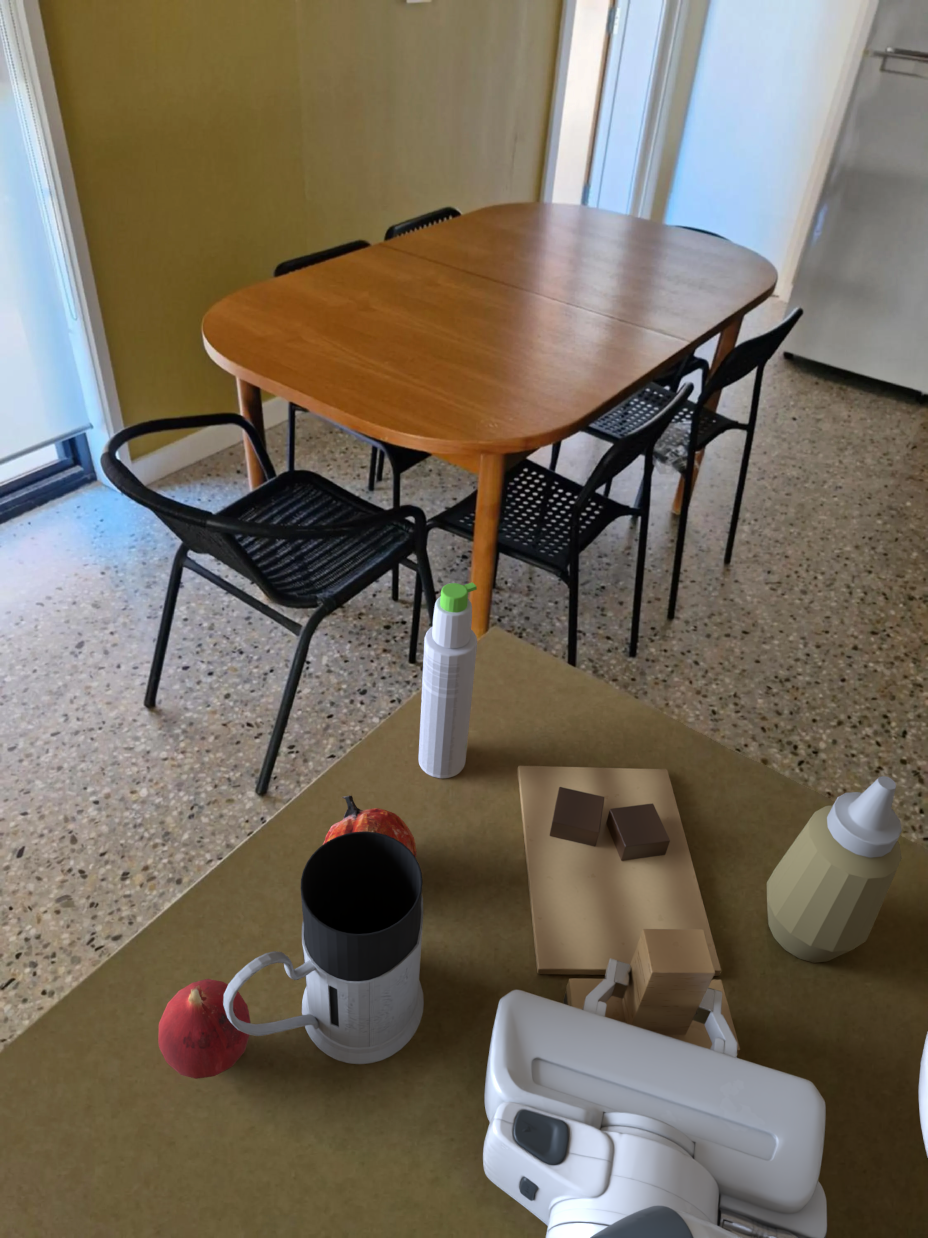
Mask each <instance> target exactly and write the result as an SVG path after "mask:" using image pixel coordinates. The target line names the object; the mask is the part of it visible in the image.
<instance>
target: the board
mask: <svg viewBox="0 0 928 1238" xmlns="http://www.w3.org/2000/svg"><path fill="white" fill-rule="evenodd" d="M517 780H518V791H519V800H520V811H521V820H522V821H521V822H522V832H523V839H524V840H523V841H524V852H525V861H526V872H527V883H528V893H529V904H530V913H531V922H532V923H531V924H532V933H533V944H534V945H533V946H534V953H535V954H534V955H535V964H536V965H535V967H536V973H537V975H582V976H583V975H588V976H589V975H590V976H591V975H594V976H595V975H597V976H599V975H600V976H601V975H602V976H605V973H606V969H607V966H608V963H609V959H610V958H611V959H614V960H617V961H621V962H624V963H627V964H631V961H632V959H633V956H634V953H635V950H636V947H637V945H638V942H639V939H640V936H641V933H642V931H643V929H694V930H704V933H705V937H706V940H707V944H708V948H709V952H710V956H711V959H712V963H713V967H714V971H715V974H714V976H713V977H718V976H720V975H721V972H722V967H721V964H720V960H719V956H718V953H717V949H716V945H715V942H714V938H713V934H712V931H711V926H710V923H709V919H708V916H707V911H706V908H705V905H704V900H703V897H702V893H701V889H700V886H699V882H698V877H697V875H696V871H695V867H694V863H693V860H692V856H691V853H690V849H689V845H688V841H687V836H686V833H685V830H684V827H683V826H684V825H683V823H682V819H681V815H680V811H679V807H678V804H677V800H676V797H675V794H674V793H675V792H674V788H673V786H672V782H671V778H670V773H669V771H668V769H666V768H634V767H633V768H632V767H631V768H628V767H626V768H625V767H592V766H591V767H589V766H588V767H587V766H548V765H547V766H546V765H544V766H543V765H518V767H517ZM559 787H563V788H568V789H572V790H577V791H581V792H585V793H590V794H594V795H599V796H603V797H604V804H603V811H602V818H601V825H600V832H599V836H598V840H597V843H596V846H595V847H594V846H590V845H585V844H581V843H577V842H573V841H568V840H564V839H560V838H556V837H551V836H550V830H551V825H552V820H553V815H554V810H555V805H556V800H557V795H558V790H559ZM652 803H653V804H654V806H655V809H656V811H657V813H658V815H659V817H660V819H661V822H662V824H663V826H664V828H665V830H666V833H667V835H668V837H669V839H670V843H669V846H668V848H667V851H666V854H665V855H661V856H653V857H646V858H639V859H632V860H624V861H621V859H620V857H619V854H618V852H617V849H616V847H615V844H614V842H613V839H612V837H611V834H610V832H609V829H608V827H607V824H606V822H607V818H608V814H609V810H610V809H612V808H620V807H628V806H636V805H644V804H652Z"/></svg>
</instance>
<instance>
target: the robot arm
mask: <svg viewBox="0 0 928 1238" xmlns="http://www.w3.org/2000/svg"><path fill="white" fill-rule="evenodd" d="M630 971H631V965H630V964H627V963H624V962H621V961H617V960H614V959H611V958H610V959H609V963H608V966H607V969H606V973H605V975H604V978H603V979H604V980H603V981H602V982H601V983H600V984H599V985H598V986H596V987H595V988H594V989H593V990H592V991H591V992H590V993H589V994H588V995H587V996H586V999H585V1002H584V1005H583V1008H582V1009H579V1008H576V1007H572V1006H569V1005H566V1004H564V1003H563V1002H559V1001H556V1000H553V999H550V998H546V997H544V996H540V995H536V994H533V993H530V992H527V991H525V990H521V989H513V990H511V991H509V992H508V993H507V994H505V995H504V996H502V997H501V998H500V999H499V1001H498V1003H497V1004H498V1005H497V1008H496V1012H495V1013H496V1014H495V1018H494V1022H493V1026H492V1027H493V1028H492V1032H491V1038H490V1043H489V1049H488V1052H489V1053H488V1057H487V1066H486V1073H485V1083H484V1084H485V1085H484V1107H485V1113H486V1117H487V1119H488V1122H489V1125H488V1127H487V1131H486V1134H485V1137H484V1141H483V1150H482V1162H483V1171H484V1174H485V1176H486V1177H487V1178H488V1180H489V1181H490V1182H491V1183H493V1184H494V1185H495V1186H496V1187H497V1188H499V1189H500V1190H502V1191H503V1192H504V1193H505V1194H507V1195H508V1196H509V1197H511V1198H512V1199H513V1200H515V1201H516V1202H517V1203H518V1204H519V1205H521V1206H523V1207H524V1208H525V1209H526V1210H528V1211H529V1212H530V1213H532V1215H534V1216H535V1217H536V1218H537V1219H538V1220H540V1221H541V1222H542V1223H543V1224H545V1226H547V1229H546V1233H545V1234H546V1235H545V1238H826V1237H827V1233H828V1207H827V1197H826V1194H825V1191H824V1188H823V1186H822V1184H821V1183H820V1182H819V1178H820V1173H821V1168H822V1167H821V1166H822V1162H823V1153H824V1145H825V1134H826V1133H825V1131H826V1117H827V1116H826V1109H827V1108H826V1102H825V1099H824V1098H823V1096H822V1095H821V1092H820V1091H819V1090H818V1089H817V1087H816V1085H815V1084H814V1083H813V1082H812V1081H811V1080H809V1079H806V1078H803V1077H800V1076H797V1075H794V1074H791V1073H787V1072H784V1071H781V1070H778V1069H775V1068H771V1067H768V1066H765V1065H761V1064H759V1063H755V1062H752V1061H749V1060H747V1059H742V1058H739V1057H738V1055H737V1041H736V1039H735V1037H734V1036H733V1034H732V1032H731V1030H730V1028H729V1026H728V1024H727V1022H726V1020H725V1018H724V1016H723V1015H722V1014H721V1005H722V991H718V990H715V989H712V988H708V989H707V991H706V993H705V995H704V997H703V999H702V1002H701V1004H700V1006H698V1008H697V1011H696V1014H695V1015H694V1017H693V1019H692V1020H693V1021H696V1022H699V1023H702V1024H705V1028H706V1030H707V1032H708V1035H709V1037H710V1040H711V1042H712V1046H711V1048H710V1049H707V1048H704V1047H701V1046H697V1045H694V1044H691V1043H688V1042H685V1041H681V1040H678V1039H675V1038H672V1037H668V1036H665V1035H662V1034H659V1033H656V1032H652V1031H649V1030H646V1029H643V1028H640V1027H636V1026H633V1025H630V1024H627V1023H624V1022H620V1021H617V1020H614V1019H611V1018H608V1017H605V1012H606V1006H607V1005H606V1003H605V1002H606V1001H607V1000H608V999H609V998H610V997H611V996H614V997H618V998H622V999H623V998H624V996H625V992H626V990H627V987H628V983H629V974H630ZM918 1108H919V1121H920V1129H921V1133H922V1138H923V1143H924V1148H925V1152H926V1156H927V1157H928V1032H926V1035H925V1040H924V1045H923V1050H922V1055H921V1058H920V1068H919V1078H918Z"/></svg>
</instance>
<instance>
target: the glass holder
mask: <svg viewBox="0 0 928 1238" xmlns="http://www.w3.org/2000/svg"><path fill="white" fill-rule="evenodd" d="M423 880H424V879H423V872H422V869H421V865H420V863H419V861H418V859H417V856H416V857H415V856H414V855H413V853H412V852H411V851H410V850H409V849H408V848H407V847H406V846H405V845H404V844H403V843H401V842H399V841H398V840H396V839H395V838H392V837H390V836H387V835H385V834H381V833H377V832H367V831H363V832H352V833H347V834H344V835H341V836H338V837H335V838H333V839H332V840H330V841H328V842H326V843H325V844H323V843H322V845H321V846H319V847H318V848H317V849H316V850H315V851H314V852H313V853H312V855H310V857H309V859H308V860H307V861H306V863H305V866H304V868H303V870H302V873H301V877H300V897H301V909H302V910H301V911H302V923H301V944H302V955H303V964H301V965H300V966H298V967H296V968H294V965H293V962H292V960H291V958H289V956H288V955H286V953H284V952H282V951H276V950H273V951H270V952H269V951H268V952H265V953H263V954H261V955H259V956H258V957H255V958H254V959H252V960H251V961H250V962H248V963H247V964H245V966H244V967H243V968H241V969H240V970H239V971H238V972H237V973H236V974H235V975H234V976H233V978H232V979H231V980H230V981H229V983H227V984H228V986H227V989H226V991H225V993H224V1003H223V1005H224V1008H225V1011H226V1015H227V1018H228V1019H229V1021H230V1022H231V1023H232V1024H233V1025H234V1026H235V1027H236V1028H237V1029H238V1030H239V1031H241V1032H244V1033H246V1034H249V1036H255V1037H262V1036H268V1035H273V1034H277V1033H282V1032H287V1031H290V1030H293V1029H298V1028H301V1027H304V1028H305V1030H306V1033H307V1034H308V1036H309V1038H310V1040H311V1041H312V1042H313V1044H314V1045H315V1046H316V1047H317V1048H318V1049H319V1050H320V1051H321V1052H323V1053H324V1054H326V1056H328V1057H330V1058H332V1059H334V1060H336V1061H339V1062H342V1063H346V1064H353V1065H354V1064H355V1065H365V1064H373V1063H376V1062H380V1061H384V1060H386V1059H388V1058H390V1057H392V1056H393V1055H395V1054H396V1053H398V1052H399V1051H401V1050H402V1049H403V1048H404V1047H405V1046H406V1045H407V1044H408V1043H410V1040H411V1039H412V1038H413V1036H414V1035H415V1034H416V1032H417V1030H418V1028H419V1026H420V1024H421V1020H422V1017H423V1013H424V1005H425V1004H424V1003H425V1002H424V992H423V988H422V984H421V981H420V972H421V971H420V969H421V957H422V955H421V954H422V939H423V925H424V897H423V884H424V883H423V882H424V881H423ZM275 964H283V966H284V967H283V968H284V970H285V973H286V974H287V976H288V978H290V979H291V980H293V981H299V980H301V979H304V978H305V989H304V992H303V996H302V1001H301V1015H296V1016H293V1017H289V1018H285V1019H281V1020H275V1021H272V1022H265V1023H252V1022H251V1023H246V1022H243V1021H241V1020H239V1019H238V1018H237V1017H236V1016H235V1014H234V1012H233V1000H234V998H235V996H236V994H237V991H238V992H239V990H240V989H241V988H242V987H243V985H244V984H245V983H246V982H247V981H249V979H251V977H253V976H255V974H256V973H258V972H259V971H261V970H262V969H264V968H266V967H269V966H270V965H275Z"/></svg>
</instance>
